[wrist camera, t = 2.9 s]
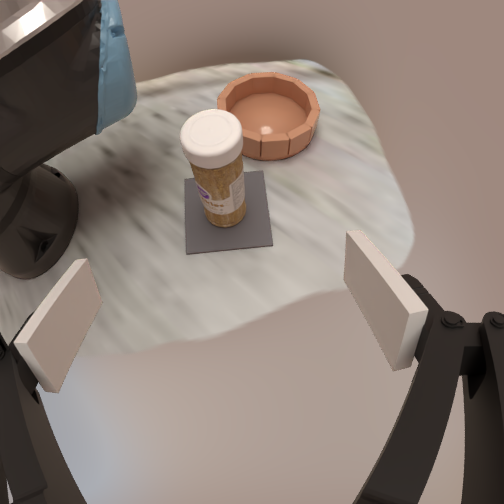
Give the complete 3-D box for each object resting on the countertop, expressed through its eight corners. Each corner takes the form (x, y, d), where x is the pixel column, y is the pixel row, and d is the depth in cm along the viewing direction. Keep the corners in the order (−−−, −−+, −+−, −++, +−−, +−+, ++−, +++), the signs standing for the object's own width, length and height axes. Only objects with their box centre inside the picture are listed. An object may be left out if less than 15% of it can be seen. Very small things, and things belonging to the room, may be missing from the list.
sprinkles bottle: (197, 217, 33) (165, 140, 21) (219, 184, 35) (201, 99, 22) (233, 236, 33) (219, 163, 20) (255, 202, 34) (254, 118, 21)
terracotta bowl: (223, 165, 36) (219, 145, 32) (218, 96, 40) (216, 76, 36) (323, 157, 36) (329, 138, 32) (304, 90, 40) (307, 71, 36)
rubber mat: (186, 254, 33) (186, 253, 32) (185, 180, 35) (184, 179, 35) (272, 245, 33) (273, 244, 32) (262, 171, 35) (262, 170, 35)
